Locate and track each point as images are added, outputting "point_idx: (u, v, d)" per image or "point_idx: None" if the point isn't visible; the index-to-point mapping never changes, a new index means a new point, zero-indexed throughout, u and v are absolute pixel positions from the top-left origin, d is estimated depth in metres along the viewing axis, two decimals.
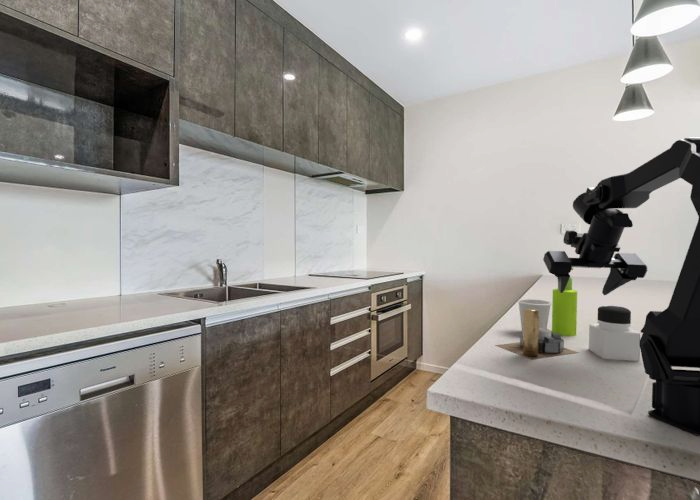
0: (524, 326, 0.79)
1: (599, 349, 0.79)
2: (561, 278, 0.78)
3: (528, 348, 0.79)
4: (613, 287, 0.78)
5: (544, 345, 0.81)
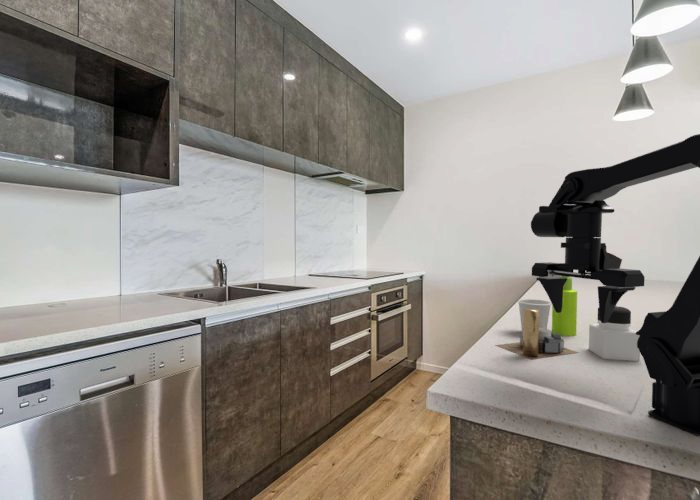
0: (524, 326, 0.79)
1: (599, 349, 0.79)
2: (541, 283, 0.74)
3: (528, 348, 0.79)
4: (600, 305, 0.63)
5: (544, 345, 0.81)
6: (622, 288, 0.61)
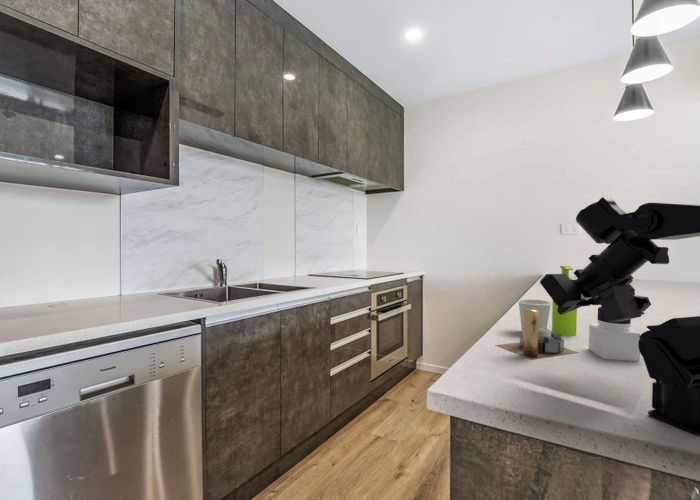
0: (524, 326, 0.79)
1: (599, 349, 0.79)
2: None
3: (528, 348, 0.79)
4: None
5: (544, 345, 0.81)
6: None
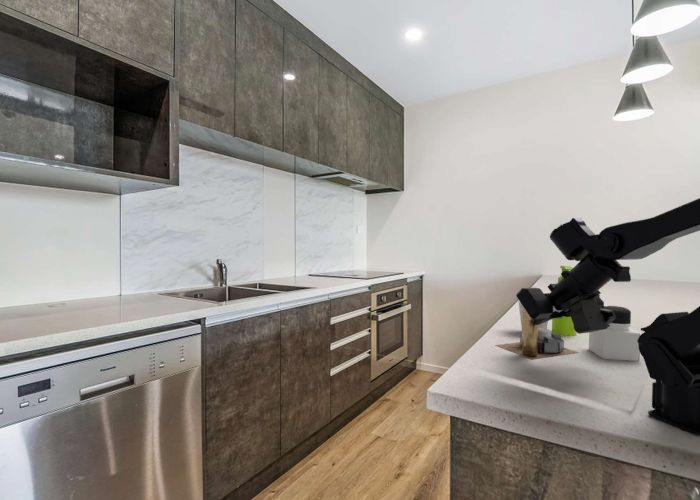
0: (523, 326, 0.80)
1: (599, 349, 0.79)
2: None
3: (527, 348, 0.79)
4: None
5: (544, 345, 0.81)
6: None
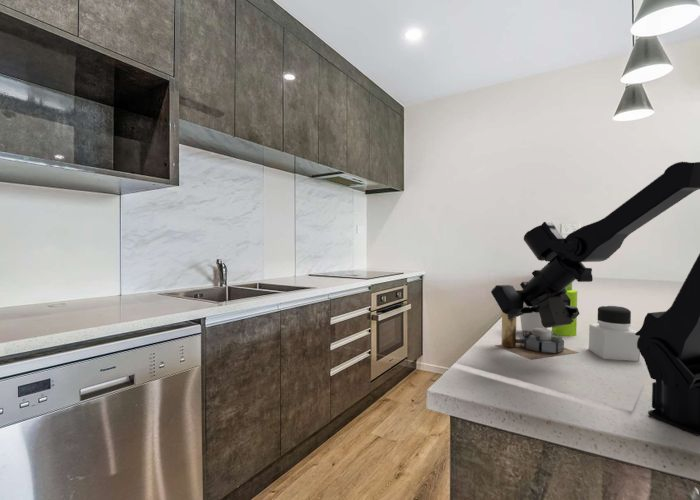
0: None
1: (599, 349, 0.79)
2: None
3: (502, 338, 0.86)
4: None
5: None
6: None
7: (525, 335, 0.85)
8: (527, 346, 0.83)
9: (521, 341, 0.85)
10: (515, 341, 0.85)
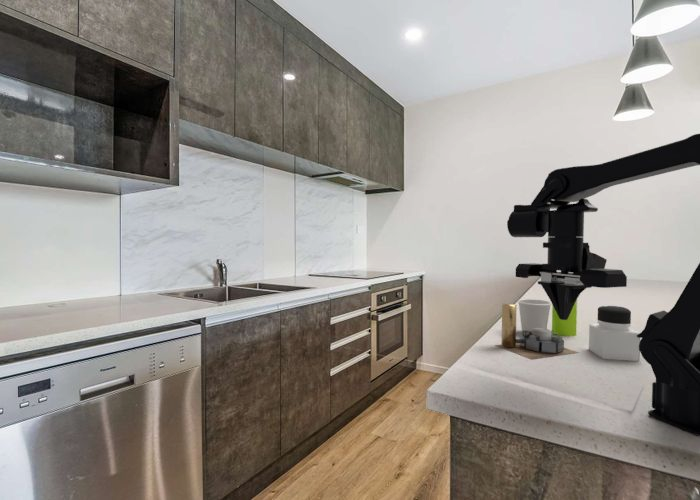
0: None
1: (599, 349, 0.79)
2: (543, 287, 0.68)
3: (502, 338, 0.86)
4: (559, 302, 0.66)
5: None
6: (578, 285, 0.63)
7: (525, 335, 0.85)
8: (527, 346, 0.83)
9: (521, 341, 0.85)
10: (515, 341, 0.85)
